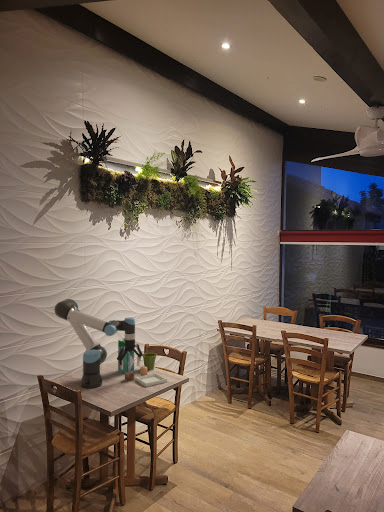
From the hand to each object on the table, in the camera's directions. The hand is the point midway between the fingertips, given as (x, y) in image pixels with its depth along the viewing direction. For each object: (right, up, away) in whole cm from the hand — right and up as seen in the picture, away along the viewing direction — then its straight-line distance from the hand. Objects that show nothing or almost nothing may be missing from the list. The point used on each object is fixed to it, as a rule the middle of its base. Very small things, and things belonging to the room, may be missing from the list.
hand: (130, 367), depth 299 cm
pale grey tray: (+16, -9, -3) cm, 19 cm away
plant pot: (+11, -8, +26) cm, 30 cm away
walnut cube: (-1, -9, 0) cm, 9 cm away
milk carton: (-6, -8, +20) cm, 22 cm away
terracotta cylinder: (+9, -9, +8) cm, 15 cm away
